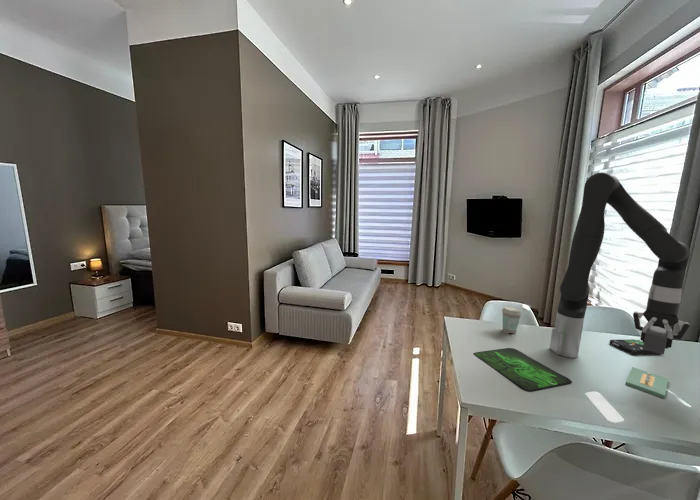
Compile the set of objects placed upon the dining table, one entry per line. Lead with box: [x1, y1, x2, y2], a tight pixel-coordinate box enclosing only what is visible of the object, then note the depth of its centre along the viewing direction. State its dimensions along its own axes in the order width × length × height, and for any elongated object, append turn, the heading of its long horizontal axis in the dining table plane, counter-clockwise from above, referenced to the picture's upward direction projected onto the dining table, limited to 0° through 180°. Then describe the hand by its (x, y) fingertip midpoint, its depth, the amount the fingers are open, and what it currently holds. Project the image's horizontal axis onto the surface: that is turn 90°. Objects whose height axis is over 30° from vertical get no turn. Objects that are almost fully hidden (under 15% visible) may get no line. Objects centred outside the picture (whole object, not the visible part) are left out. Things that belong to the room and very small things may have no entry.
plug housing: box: [643, 326, 668, 355], centre depth 103 cm, size 5×12×6 cm, turn 130°
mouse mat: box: [473, 347, 573, 392], centre depth 113 cm, size 27×22×1 cm
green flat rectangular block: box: [625, 366, 669, 399], centre depth 105 cm, size 10×16×2 cm, turn 130°
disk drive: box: [608, 339, 660, 356], centre depth 131 cm, size 10×3×15 cm
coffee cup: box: [501, 305, 523, 334], centre depth 145 cm, size 8×8×12 cm
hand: (655, 344), depth 103 cm, fingers closed on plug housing, 5 cm apart
